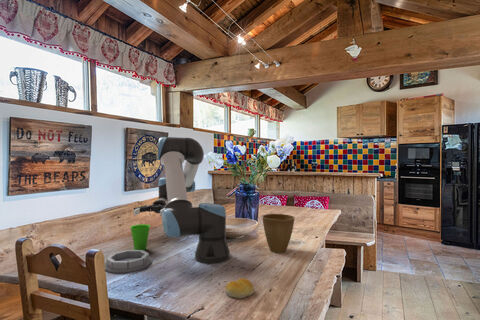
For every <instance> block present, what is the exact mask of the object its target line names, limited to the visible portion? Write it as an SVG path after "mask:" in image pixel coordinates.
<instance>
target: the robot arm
mask: <svg viewBox="0 0 480 320" xmlns="http://www.w3.org/2000/svg"><path fill="white" fill-rule="evenodd" d="M156 154H157V155H156V160H158V161H160V163H161V165H162V166H163V167H164V176H165V177H160V178H159V179H158V199H157V200H155V201H153V203H152V204H150V205H149V204H144V205H142V206H137V207H135V206H134V207H133V216H137V215H139V214H140V213H145V212H148V213H150V212H151V213H152V212H154V213H155V214H159V216H160V217H161V221H162V222H161V223H162V228H163V232H164V234H165V235H166V237H168V238H180V237H189V236H198V243H197V246H196V248H195V252H194V259H195V261H197V262H200V263H205V264H218V263H222V262H223V263H224V262H226V261H227V260H229V259H230V257H231V252H230V248H229V245H228V242H227V234H226V233H227V228H226V227H227V213H226V207H225V206H223V205H222V204H219V203H218V204H216V203H211V202H210V203H209V202H200V203H199V204H198V206H195V207H194V206H193V204H192V202H191V201H190V200H189V199H188V193H193V192H195V191H196V182H195V179H196V174H197V172H198V169H199V165H200V164H202V162H203V160H204V155H205V152H204V149H203V147H202V145H201V143H200V142H198V140H196V139H194V138H191V137H173V136H166V137H164V136H161V137H160V138H159V139H158V145H157V153H156ZM184 162H185V163H184ZM183 163H184V167H183Z"/></svg>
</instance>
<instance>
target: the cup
mask: <svg viewBox="0 0 480 320" xmlns="http://www.w3.org/2000/svg"><path fill="white" fill-rule="evenodd" d="M150 228H151V224H143V223H142V224H141V223H140V224H134V225H131V226H130V230H131V237H132V243H133V248H134V249H133V250H143V251H146V250H147V248H148V247H147V246H148V239H149V235H150V234H149V233H150Z"/></svg>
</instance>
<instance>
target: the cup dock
mask: <svg viewBox="0 0 480 320" xmlns="http://www.w3.org/2000/svg"><path fill="white" fill-rule="evenodd" d="M151 264H152V258H151V257H150V253H149V252H147V251H146V250H144V251H143V250H135V249H127V250H122V251H118V252H113V253H112V254H110V255H109V256H107V257H106V261H105V268H106V272H107V273H112V274H127V273H129V274H130V273H134V272H138V271H141V270H144V269H146V268H148V267H149V266H150V265H151Z"/></svg>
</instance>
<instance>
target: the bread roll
mask: <svg viewBox="0 0 480 320" xmlns="http://www.w3.org/2000/svg"><path fill="white" fill-rule="evenodd" d="M225 293H226V295H227V296H228V297H231V298H234V299H243V298H247V297H250V296H252V295H253V294H254V293H255V287H254V284H253V283H252V282H251V280H249V279H247V278H242V277H241V278H238V279H237V280H235V281H234V280H232V281H230V282H229V281H228V283H227V284H226V285H225Z"/></svg>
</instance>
